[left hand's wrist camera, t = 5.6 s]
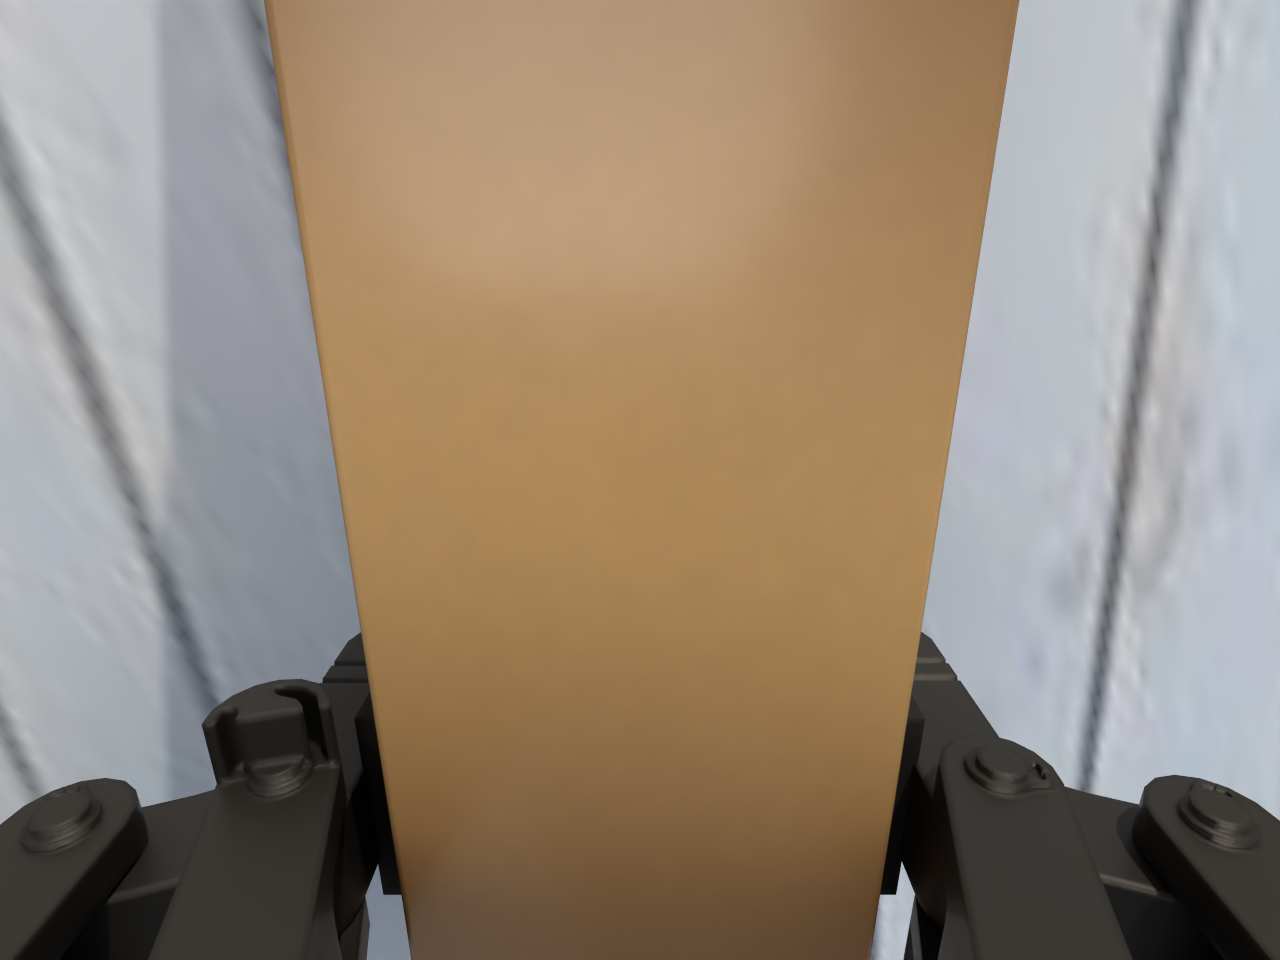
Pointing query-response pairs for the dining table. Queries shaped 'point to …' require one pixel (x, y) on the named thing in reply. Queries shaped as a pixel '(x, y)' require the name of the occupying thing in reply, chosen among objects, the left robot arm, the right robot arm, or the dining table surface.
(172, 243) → the dining table surface
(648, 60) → the bar
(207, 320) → the dining table surface
